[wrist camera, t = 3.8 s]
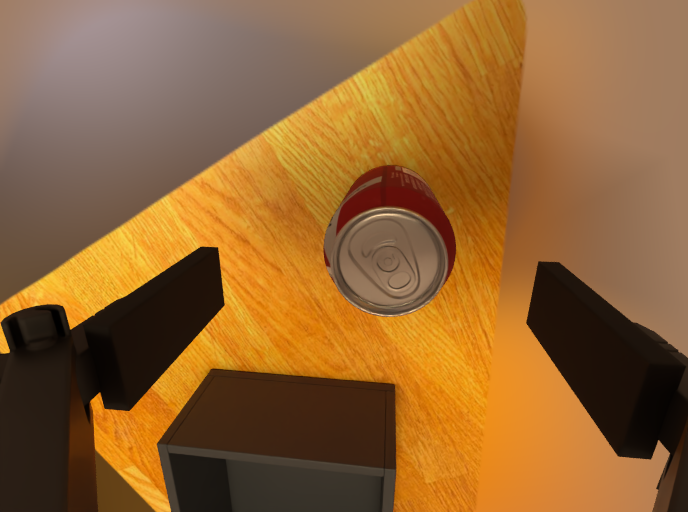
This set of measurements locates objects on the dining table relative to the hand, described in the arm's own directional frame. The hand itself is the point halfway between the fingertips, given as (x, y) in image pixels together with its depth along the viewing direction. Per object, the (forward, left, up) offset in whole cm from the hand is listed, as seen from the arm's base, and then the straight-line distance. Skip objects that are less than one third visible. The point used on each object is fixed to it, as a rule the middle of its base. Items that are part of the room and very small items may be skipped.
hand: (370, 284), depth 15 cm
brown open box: (+7, +26, -14) cm, 30 cm away
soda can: (-1, 0, -14) cm, 14 cm away
